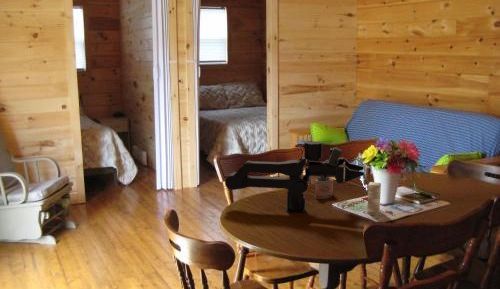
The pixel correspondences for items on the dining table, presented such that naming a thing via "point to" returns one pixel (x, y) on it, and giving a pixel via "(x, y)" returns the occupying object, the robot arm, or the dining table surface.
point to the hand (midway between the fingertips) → (363, 170)
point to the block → (374, 198)
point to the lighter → (323, 188)
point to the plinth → (373, 214)
